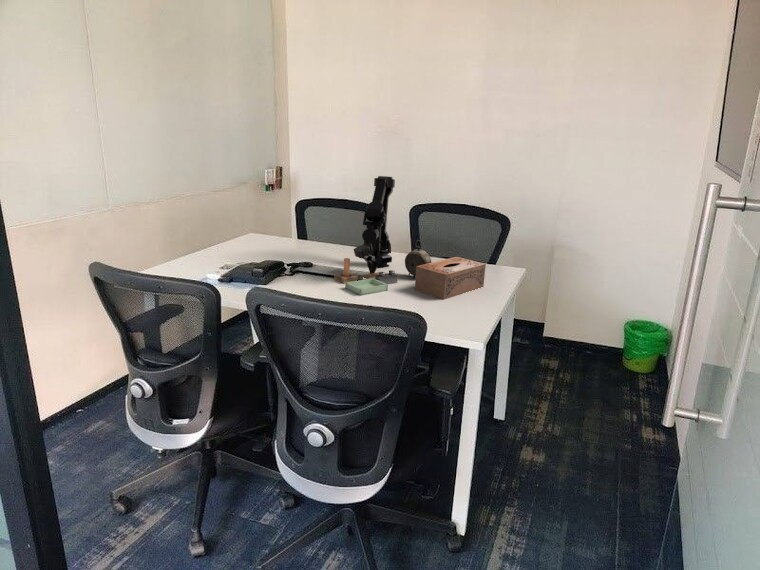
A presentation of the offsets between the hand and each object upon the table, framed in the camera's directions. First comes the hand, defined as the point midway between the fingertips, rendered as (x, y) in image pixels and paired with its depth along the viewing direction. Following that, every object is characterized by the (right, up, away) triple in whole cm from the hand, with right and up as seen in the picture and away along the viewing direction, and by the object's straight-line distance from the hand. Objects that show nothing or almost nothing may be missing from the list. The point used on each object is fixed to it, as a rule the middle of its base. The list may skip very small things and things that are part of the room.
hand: (371, 274), depth 236 cm
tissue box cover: (+31, -6, -10) cm, 33 cm away
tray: (-2, -6, -16) cm, 18 cm away
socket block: (-10, -2, -6) cm, 12 cm away
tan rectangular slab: (+2, -3, -3) cm, 5 cm away
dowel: (-10, -2, -6) cm, 12 cm away
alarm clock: (+19, -1, +2) cm, 19 cm away
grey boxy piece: (+6, -3, -7) cm, 10 cm away
